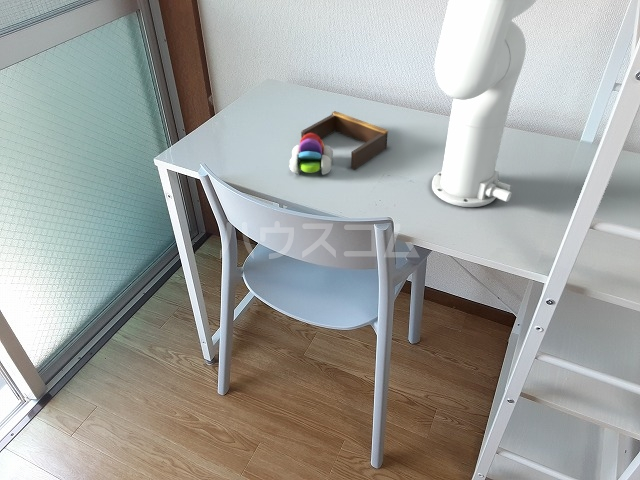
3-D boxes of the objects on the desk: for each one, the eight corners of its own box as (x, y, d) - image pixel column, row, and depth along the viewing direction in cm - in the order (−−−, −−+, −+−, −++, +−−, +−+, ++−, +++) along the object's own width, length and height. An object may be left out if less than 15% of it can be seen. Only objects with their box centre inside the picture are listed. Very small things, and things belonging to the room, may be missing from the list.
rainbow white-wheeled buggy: (333, 156, 112) (333, 126, 107) (329, 181, 104) (329, 149, 100) (294, 155, 113) (293, 124, 108) (288, 179, 105) (286, 148, 101)
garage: (387, 148, 114) (388, 130, 111) (354, 170, 108) (355, 151, 105) (335, 128, 122) (335, 110, 119) (301, 147, 115) (300, 129, 112)
